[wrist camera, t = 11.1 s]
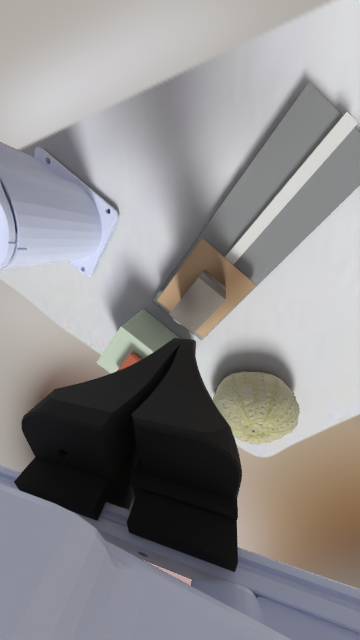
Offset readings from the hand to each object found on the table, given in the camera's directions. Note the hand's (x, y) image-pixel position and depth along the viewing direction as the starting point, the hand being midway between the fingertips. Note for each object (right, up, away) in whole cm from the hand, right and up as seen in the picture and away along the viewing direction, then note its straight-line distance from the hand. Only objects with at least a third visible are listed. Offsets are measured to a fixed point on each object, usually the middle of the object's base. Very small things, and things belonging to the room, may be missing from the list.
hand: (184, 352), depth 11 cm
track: (+5, +9, +5) cm, 11 cm away
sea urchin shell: (+9, -7, +12) cm, 16 cm away
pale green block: (-3, -1, +12) cm, 12 cm away
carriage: (+2, +5, +6) cm, 8 cm away
